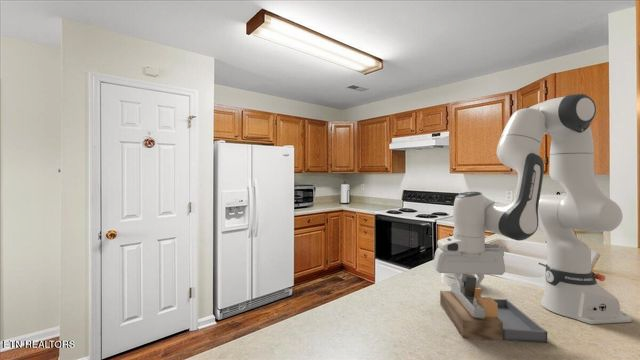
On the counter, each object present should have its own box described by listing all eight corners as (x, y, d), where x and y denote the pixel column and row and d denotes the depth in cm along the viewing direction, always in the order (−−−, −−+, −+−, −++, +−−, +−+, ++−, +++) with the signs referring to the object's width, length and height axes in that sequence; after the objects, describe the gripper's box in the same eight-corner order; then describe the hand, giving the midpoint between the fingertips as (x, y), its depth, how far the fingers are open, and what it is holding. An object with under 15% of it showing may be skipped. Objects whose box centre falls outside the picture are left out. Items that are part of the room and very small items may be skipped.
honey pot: (440, 275, 127) (441, 236, 126) (472, 279, 122) (473, 238, 122) (442, 285, 115) (442, 242, 114) (477, 290, 110) (477, 245, 110)
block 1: (475, 295, 94) (475, 284, 94) (480, 301, 90) (481, 288, 90) (463, 295, 94) (463, 283, 94) (468, 300, 91) (468, 288, 90)
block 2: (490, 310, 84) (490, 297, 84) (497, 317, 80) (497, 303, 80) (476, 309, 84) (476, 296, 84) (482, 316, 80) (482, 302, 80)
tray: (506, 307, 96) (506, 299, 96) (547, 342, 76) (547, 332, 76) (471, 306, 97) (471, 297, 97) (502, 340, 77) (502, 329, 77)
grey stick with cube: (459, 292, 97) (463, 267, 96) (484, 319, 79) (488, 288, 78) (450, 291, 97) (454, 265, 97) (473, 317, 79) (477, 286, 79)
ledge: (471, 306, 97) (471, 292, 97) (502, 340, 77) (502, 322, 77) (440, 304, 98) (440, 290, 98) (462, 337, 78) (463, 320, 78)
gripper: (498, 241, 89) (498, 284, 90) (432, 240, 92) (432, 281, 92) (509, 246, 83) (509, 292, 83) (438, 245, 85) (438, 289, 86)
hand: (468, 287), depth 88 cm, fingers closed on grey stick with cube, 3 cm apart
